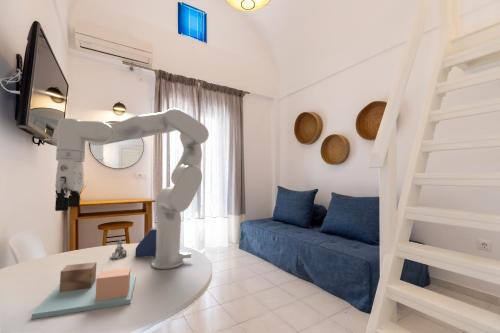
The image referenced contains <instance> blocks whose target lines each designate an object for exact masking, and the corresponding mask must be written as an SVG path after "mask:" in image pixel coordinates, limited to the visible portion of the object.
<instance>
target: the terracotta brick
mask: <svg viewBox="0 0 500 333" xmlns="http://www.w3.org/2000/svg"><path fill="white" fill-rule="evenodd" d="M130 275H131V268H130V267H129V268H120V269H112V270H111V269H110V270H101V271H100V272H99V274H98V275H97V276H96V297H95V301H97V300H104V299H111V298H118V297H124V296H128V292H129V288H130Z"/></svg>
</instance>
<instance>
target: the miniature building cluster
mask: <svg viewBox="0 0 500 333" xmlns="http://www.w3.org/2000/svg"><path fill="white" fill-rule="evenodd" d="M122 245H123V243H122V240H121V239H118V240H117V243H116V246H117V247H115V250H114V251H113V252H112V254H111V256H109V260H119V259H122V258H125V257H127V249H125V248H124V246H122Z"/></svg>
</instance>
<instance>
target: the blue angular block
mask: <svg viewBox="0 0 500 333" xmlns="http://www.w3.org/2000/svg"><path fill="white" fill-rule="evenodd" d="M156 233H157V227H151V229H150V230H149V231H148V232H147V234H145V235H144V237H143V238H142V240H140V241H139V243H138V244H137V246H136V247H135V253H134V254H135V255H134V257H135V258H145V257H146V258H147V257H148V258H149V257H156Z"/></svg>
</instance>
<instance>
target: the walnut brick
mask: <svg viewBox="0 0 500 333" xmlns="http://www.w3.org/2000/svg"><path fill="white" fill-rule="evenodd" d="M96 279H97V262H86V263H85V262H84V263H75V264H74V263H73V264H67V265H65V267H63V269H62V270H60V279H59V284H60V290H59V292H65V291H73V290H80V289H88V288H92V286H93V284H94V282H95V281H96Z"/></svg>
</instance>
